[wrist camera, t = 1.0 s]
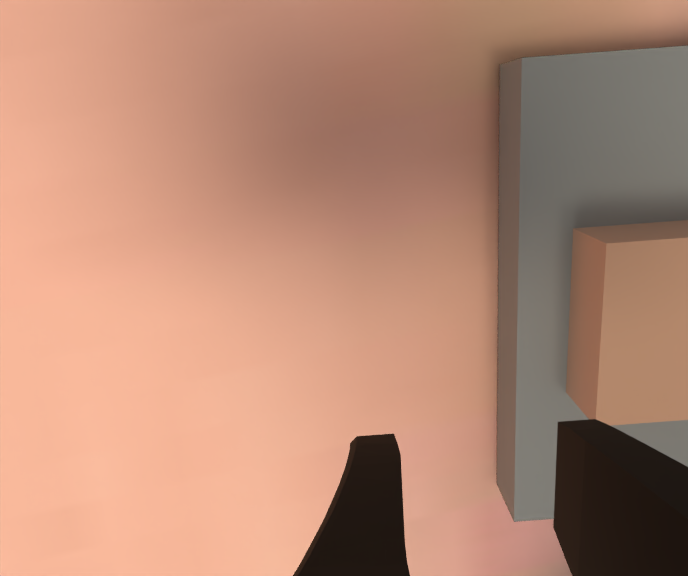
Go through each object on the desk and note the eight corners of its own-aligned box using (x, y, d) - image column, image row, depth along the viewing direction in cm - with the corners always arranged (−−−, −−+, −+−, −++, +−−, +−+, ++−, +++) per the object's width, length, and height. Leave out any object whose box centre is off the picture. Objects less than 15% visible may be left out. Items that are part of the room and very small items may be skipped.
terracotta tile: (731, 380, 17) (782, 413, 15) (565, 392, 17) (595, 426, 15) (754, 214, 16) (812, 228, 14) (573, 228, 16) (606, 243, 14)
